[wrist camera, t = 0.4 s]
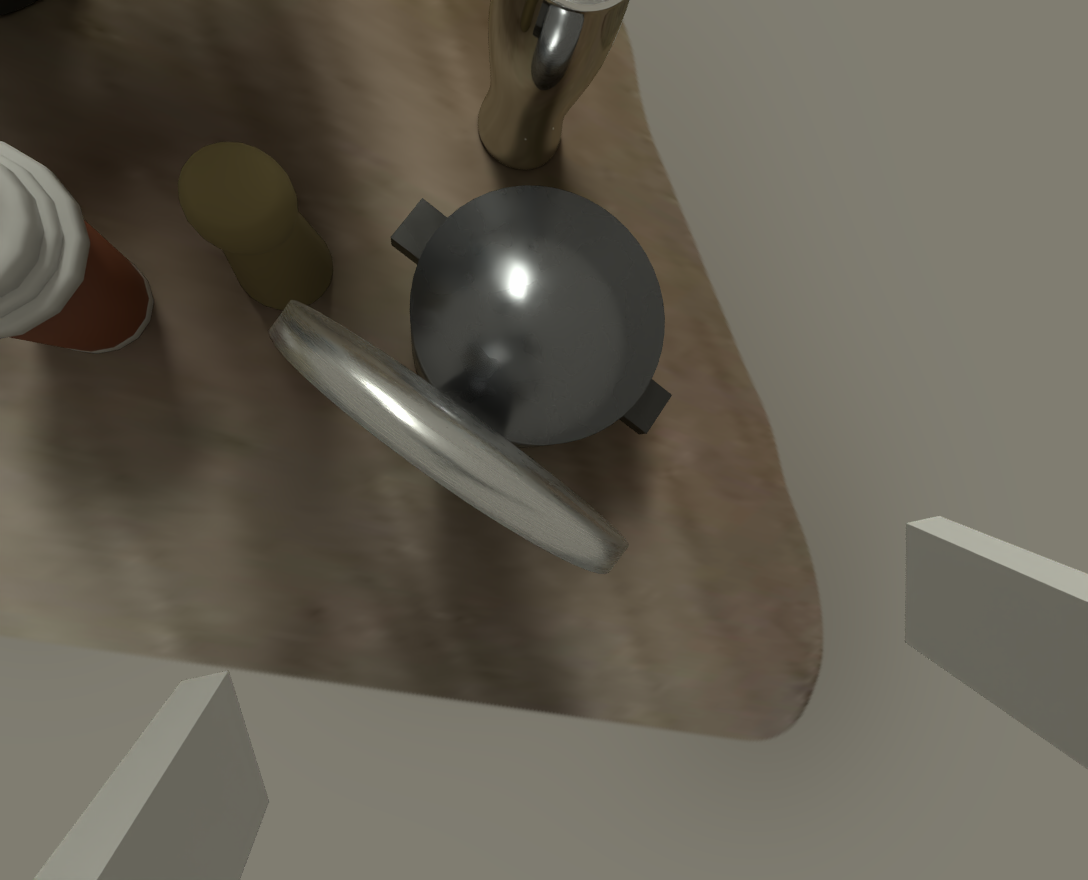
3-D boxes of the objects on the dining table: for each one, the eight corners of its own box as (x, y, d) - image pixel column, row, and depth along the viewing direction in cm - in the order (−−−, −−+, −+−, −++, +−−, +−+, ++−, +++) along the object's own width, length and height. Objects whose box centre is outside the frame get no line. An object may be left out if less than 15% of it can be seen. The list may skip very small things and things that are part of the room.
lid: (582, 493, 32) (560, 524, 32) (351, 325, 29) (327, 358, 29) (691, 607, 16) (644, 669, 16) (201, 257, 13) (147, 331, 13)
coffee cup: (8, 378, 33) (-219, 332, 21) (2, 225, 33) (-227, 96, 21) (181, 372, 35) (61, 328, 23) (174, 229, 35) (51, 113, 23)
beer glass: (450, 116, 39) (470, -89, 25) (522, 64, 41) (582, -160, 26) (515, 195, 40) (571, 42, 25) (584, 141, 41) (675, -34, 27)
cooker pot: (557, 516, 40) (591, 530, 32) (331, 355, 37) (307, 326, 29) (674, 342, 42) (732, 315, 35) (472, 178, 39) (485, 108, 32)
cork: (350, 283, 37) (323, 211, 27) (267, 326, 36) (203, 269, 25) (300, 203, 37) (252, 97, 26) (214, 244, 36) (126, 151, 25)
